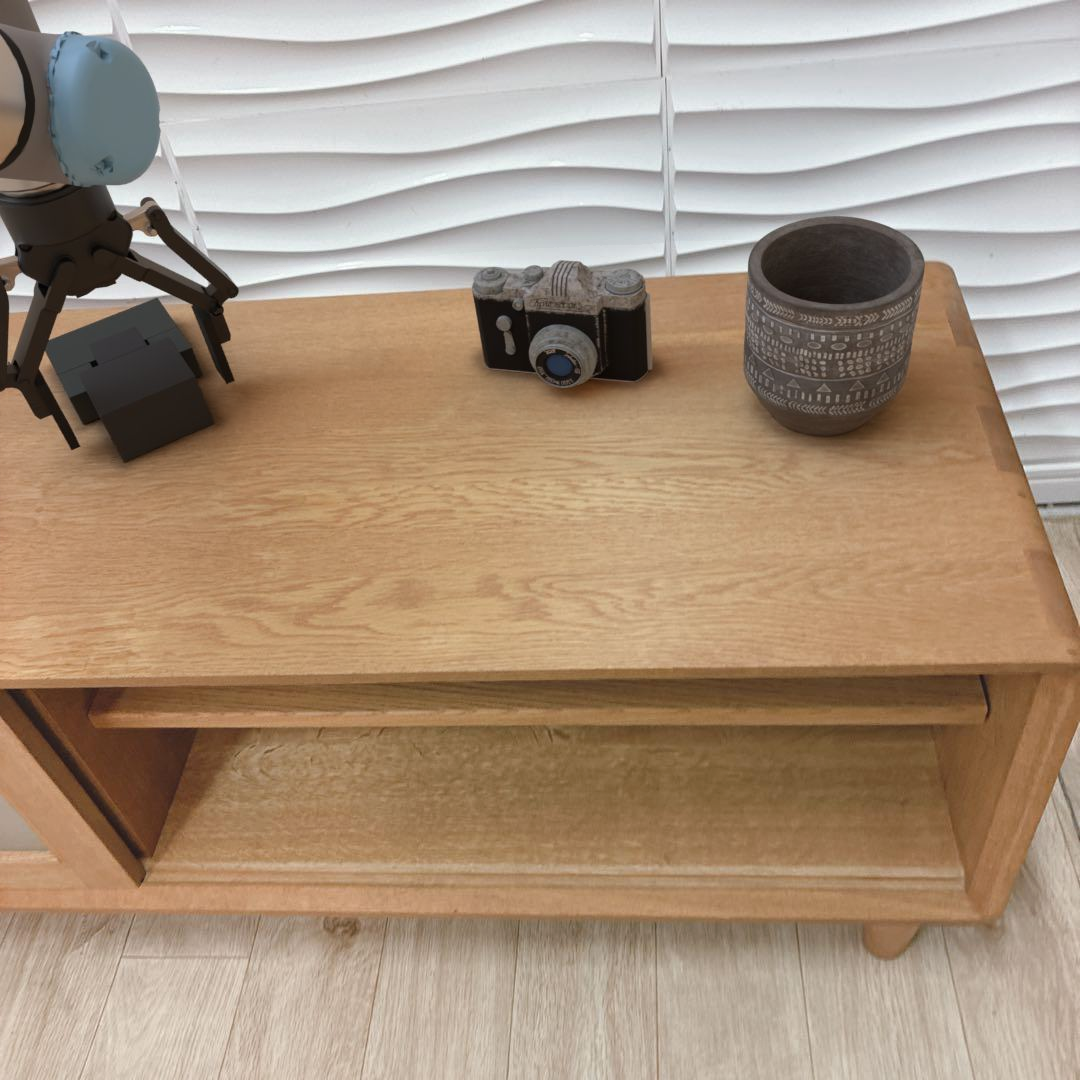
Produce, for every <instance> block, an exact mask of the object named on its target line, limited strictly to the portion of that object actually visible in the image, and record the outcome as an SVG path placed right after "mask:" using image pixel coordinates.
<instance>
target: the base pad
mask: <svg viewBox="0 0 1080 1080" xmlns="http://www.w3.org/2000/svg"><path fill="white" fill-rule="evenodd" d="M132 327H136V328H137V330H138V331H139V333H140V334H141V336H142V338H143V339H144V341H145V342H146V344H147V345H150V344H152V343H155V342H157V341H160V340H162V339H165V338H167V337H169V338H170V339H171V341H172V342H173V344H174V345H175V347H176V348H177V350H178V351H179V353H180V354H181V356H182V357H183V359H184V360H185V362H186V363H187V365H188V366H189V368H190V369H191V371H192V372H193V374H194V375H195V377H196V378H198V377H200V376H203V375H204V373H203V371H202V369H201V366H200V363H199V361H198V358H197V356H196V353H195V351H194V349H193V346H192V345H191V344H190V343H189V341H188V340H187V338H186V337H185V335H184V334H183V333H182V331H181V330H180V328H179V326H178V325H177V324H176V322H175V320H174V319H173V317H172V316H171V315H170V313H169V312H168V310H167V309H166V308H165V306H164V305H163V303H162V302H161V301H160V299H159V298H158V297H155V298H153V299H150V300H147V301H145V302H142V303H139V304H137V305H135V306H132V307H130V308H127V309H125V310H124V309H123V310H122V311H119V312H117V313H114V314H112V315H109V316H107V317H104V318H102V319H101V318H100V319H99V320H96V321H94V322H91V323H89V324H86V325H83V326H81V327H78V328H76V329H73V330H70V331H68V332H66V333H63V334H61V335H58V336H55V337H53V338H49V340H48V343H47V346H46V349H45V352H44V353H45V355H46V356H47V358H48V360H49V362H50V363H51V366H52V369H53V370H54V372H55V374H56V376H57V378H58V380H59V382H60V385H61V386H62V387H63V390H64V392H65V394H66V395H67V397H68V400H69V401H70V404H71V405H72V408H73V409H74V411H75V413H76V415H77V416H78V418H79V420H80V422H81V424H82V425H86V424H89V423H92V422H93V421H96V420H98V419H100V417H99V415H98V413H97V411H96V409H95V407H94V405H93V403H92V401H91V399H90V397H89V395H88V393H87V391H86V389H85V388H84V386H83V384H82V382H81V380H80V378H79V376H78V373H81V372H83V371H86V370H88V369H91V368H93V367H96V366H98V363H97V361H96V359H95V357H94V355H93V353H92V351H91V349H90V347H89V344H92V343H94V342H97V341H99V340H102V339H104V338H107V337H109V336H112V335H114V334H117V333H120V332H122V331H125V330H127V329H130V328H132Z"/></svg>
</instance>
